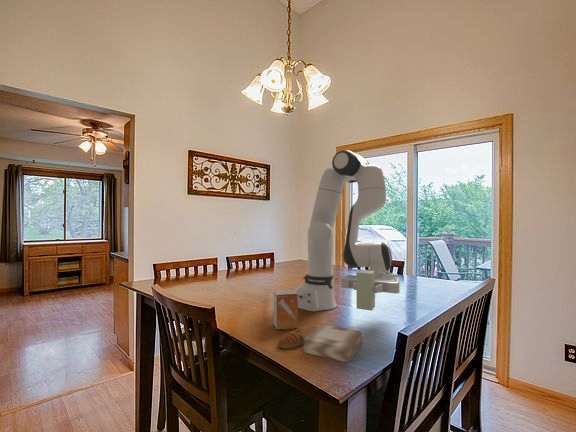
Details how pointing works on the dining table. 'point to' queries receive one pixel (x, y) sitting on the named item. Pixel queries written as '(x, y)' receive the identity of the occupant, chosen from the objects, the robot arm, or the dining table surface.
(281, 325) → the small box
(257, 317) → the dining table surface
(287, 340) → the pastry
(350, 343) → the base plinth
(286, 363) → the dining table surface
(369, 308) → the sage block
